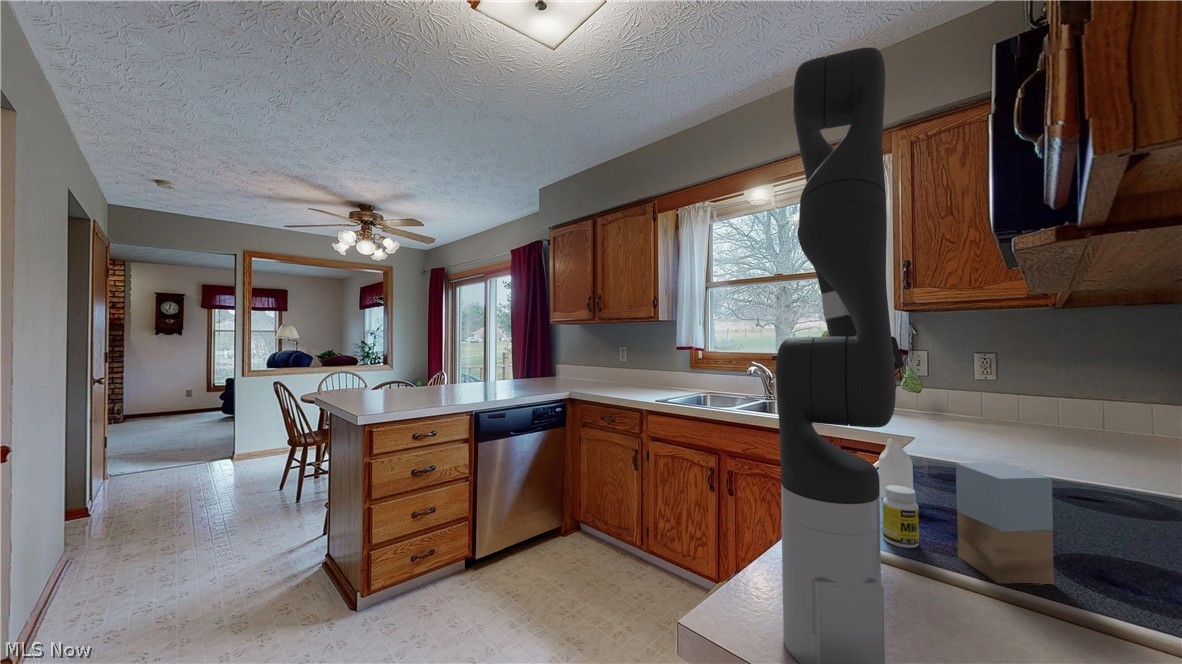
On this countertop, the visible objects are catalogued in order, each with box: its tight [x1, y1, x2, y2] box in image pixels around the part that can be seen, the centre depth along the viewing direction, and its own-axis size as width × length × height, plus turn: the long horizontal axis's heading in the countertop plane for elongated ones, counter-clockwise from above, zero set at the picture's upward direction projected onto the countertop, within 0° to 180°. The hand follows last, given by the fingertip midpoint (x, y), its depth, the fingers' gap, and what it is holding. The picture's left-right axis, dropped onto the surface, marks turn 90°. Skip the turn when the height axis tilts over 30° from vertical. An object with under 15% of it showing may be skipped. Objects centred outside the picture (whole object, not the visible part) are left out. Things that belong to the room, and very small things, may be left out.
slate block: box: [955, 461, 1054, 532], centre depth 63 cm, size 7×7×7 cm
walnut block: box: [956, 510, 1055, 586], centre depth 63 cm, size 7×7×7 cm
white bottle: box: [878, 438, 914, 499], centre depth 90 cm, size 6×12×6 cm
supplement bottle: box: [882, 485, 920, 549], centre depth 71 cm, size 5×5×8 cm
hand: (865, 396), depth 85 cm, fingers open, 8 cm apart
